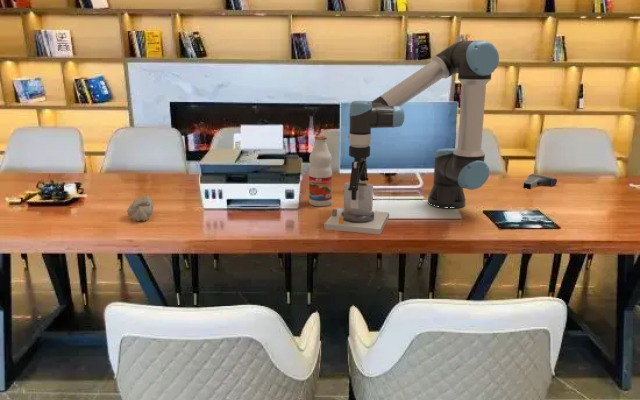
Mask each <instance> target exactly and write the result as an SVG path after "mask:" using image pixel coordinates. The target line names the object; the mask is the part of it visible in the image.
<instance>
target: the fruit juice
mask: <svg viewBox="0 0 640 400" xmlns="http://www.w3.org/2000/svg"><path fill="white" fill-rule="evenodd" d="M327 141H328V136H327V135H323V134H322V135H320V134H319V135H314V145H313V147H312V150H311V151H310V152H311V153H310V154H309V160H308V161H309V164H310V165H309V170H308V203H309V204H310V205H311V206H314V207H328V206H331V204H333V203H332V202H333V168H332V166H331V165H332V161H333V157H332V156H333V155H332V154H331V152H330V150H329V147H328V143H327Z"/></svg>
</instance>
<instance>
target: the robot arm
mask: <svg viewBox="0 0 640 400" xmlns="http://www.w3.org/2000/svg"><path fill="white" fill-rule="evenodd" d="M499 63H500V55H499V51H498V49H497V47H496V46H495V45H494V44H493V43H491V42H489V41H485V40H481V39H480V40H479V39H478V40H459V41H457V42H455V43H453V44H451V45H450V46H449V45H448V46H447V47H446V48H445V49H443V50H442V51H440V52H438V53H437V54H436V55H435V56H432V60H431V61H430V62H429V63H427V64H425V65H424V66H423V67H421V68H420V69H418V70H417V71H415V72H413V73H412V74H411V75H409V76H407V77H406V78H405V79H403V80H402V81H401V82H399V83H397V84H396V85H395V86H393V87H391V88H390V89H389V90H387V91H386V92H384V93H383V94H381V95H380V96H378V97H377V98H375V99H373V100H353V101H351V102H350V105H349V115H348V116H349V135H347V138H348V142H349V146H348V155H349V157H351V158H354V161H352V162H351V171H350V172H351V173H350V180H349V182H350V186H349V188H348V190H349V191H351V193H350V208H355V209H358V193H359V190H358V185H359V183H365V184H367V182H368V181H369V177H368V176H369V175H368V167H367V158H369V157H370V156H371V140H372V138H371V137H372V129H376V128H377V129H381V128H384V129H385V128H393V129H394V128H400V127H402V126H403V124H404V122H405V111H404V109H403V107H402V106H403V105H405V104H406V103H407V102H409V101H410V100H412V99H413V98H415V97H417V96H418V95H420V94H421V93H423V92H424V91H425V90H427V89H428V88H430V87H431V86H433V85H434V84H436V83H438V82H439V81H440V80H442V79H445V80H446V79H448V78H450V77H452V76H453V75H457V81H459V82H460V83H461V93H460V94H461V95H460V105H459V106H460V107H459V121H458V122H459V123H458V124H459V125H458V137H457V148H455V147H454V148H449V147H448V148H447V147H446V148H439V149H437V150H436V151H435V154H434V168H433V182H432V183H433V184H432V187H431V189H430V192H429V194H428V197H427V203H428V202H429V203H430V204H432V205H435V206H439V207H448V208H450V207H455V208H454V209H460V208H464V207H465V206H466V195H465V192H464V189H467V190H470V191H472V190H477V189H480V188H482V187H483V186H484V185H485V184H486V182H487V181H488V180H489V176H490V167H489V166H488V164H487V163H486V162H485V157H486V156H485V155H486V153H485V151H483V150H482V142H483V141H482V140H483V132H484V131H483V128H484V120H485V119H484V115H485V106H486V104H485V103H486V94H487V93H486V92H487V91H486V90H487V84H488V83H489V82H490V81H492V74H493V73H494V72H495V70H496V69H497V68H498V65H499ZM353 186H354V187H353ZM429 203H428V204H429ZM430 204H429V205H430ZM432 205H431V206H432ZM435 206H434V207H435ZM439 207H438V208H439ZM448 208H447V209H448Z"/></svg>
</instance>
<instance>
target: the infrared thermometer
mask: <svg viewBox="0 0 640 400" xmlns="http://www.w3.org/2000/svg"><path fill="white" fill-rule="evenodd" d="M557 182H558V179H557V178H556V177H551V176H547V175H544V174H536V173H531V174H529V175H528V177H527V179H526V180H524V181H523V185H522V186H523V187H522V188H523V189H525V188H527V190H531V189H534V188H536V187H537V186H546V185H547V187H548V186H549V187H555V186H556V185H557ZM533 187H534V188H533Z"/></svg>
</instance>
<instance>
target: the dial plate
mask: <svg viewBox="0 0 640 400" xmlns="http://www.w3.org/2000/svg"><path fill="white" fill-rule="evenodd" d="M331 210H332V212H331V213H332V214H331V216H330V217H329V218H328V219H327V220H326V221H325V222H324V224H323V226H324V227H323V228H324V230H329V231H340V232H349V233H359V234H369V235H370V234H371V235H381V233H382V231H383V230H384V228H385V226H386V223H387V222H388V221H389V220H388V219H389V218H390V212H388V211H387V212H386V211H377V210H372V211H373V212H374V219H373V220H371V221H368V222H350V221H346V220H344V216H342V210H344V207H343V208H342V207H338V208H332V209H331Z"/></svg>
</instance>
